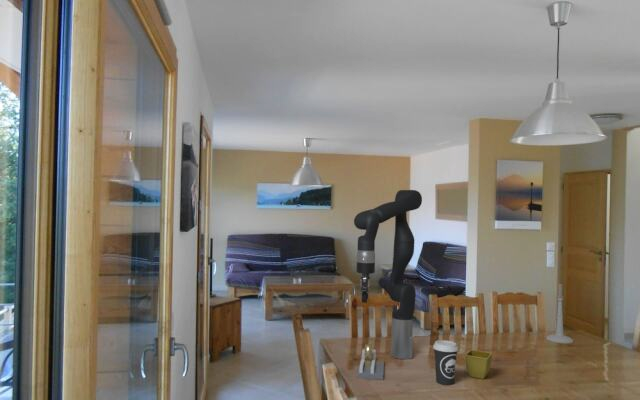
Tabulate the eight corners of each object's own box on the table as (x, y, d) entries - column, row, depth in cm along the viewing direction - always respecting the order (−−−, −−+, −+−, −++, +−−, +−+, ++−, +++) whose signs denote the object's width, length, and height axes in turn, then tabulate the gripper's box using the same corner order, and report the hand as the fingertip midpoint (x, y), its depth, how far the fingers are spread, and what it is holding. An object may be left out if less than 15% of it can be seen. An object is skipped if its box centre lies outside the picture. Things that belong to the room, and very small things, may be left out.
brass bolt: (372, 360, 204) (372, 341, 204) (371, 366, 196) (371, 346, 196) (365, 359, 204) (365, 340, 205) (364, 365, 196) (364, 345, 197)
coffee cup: (458, 380, 187) (459, 341, 187) (457, 388, 178) (457, 347, 178) (433, 376, 190) (434, 338, 190) (430, 384, 181) (431, 344, 181)
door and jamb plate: (384, 363, 206) (384, 350, 206) (383, 379, 185) (383, 365, 185) (360, 361, 207) (361, 348, 207) (357, 377, 186) (357, 363, 187)
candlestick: (540, 337, 257) (541, 281, 258) (561, 336, 260) (561, 281, 261) (558, 343, 245) (558, 284, 246) (579, 342, 248) (579, 284, 249)
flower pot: (487, 382, 185) (487, 358, 186) (464, 377, 190) (464, 354, 190) (492, 375, 193) (492, 353, 193) (470, 371, 197) (470, 349, 198)
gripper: (374, 263, 190) (373, 304, 190) (375, 259, 204) (374, 298, 204) (355, 262, 191) (354, 303, 191) (357, 259, 205) (357, 297, 205)
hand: (364, 300), depth 197 cm, fingers open, 8 cm apart
